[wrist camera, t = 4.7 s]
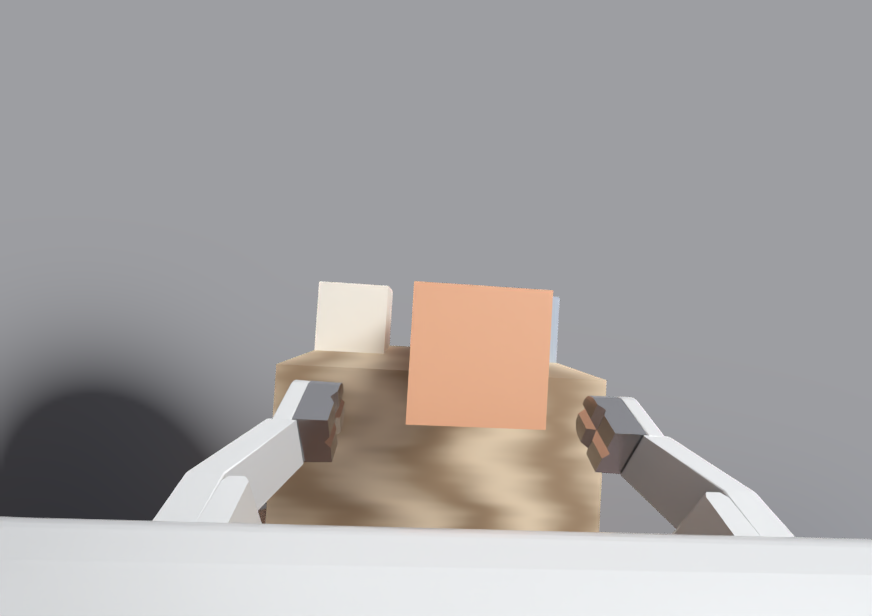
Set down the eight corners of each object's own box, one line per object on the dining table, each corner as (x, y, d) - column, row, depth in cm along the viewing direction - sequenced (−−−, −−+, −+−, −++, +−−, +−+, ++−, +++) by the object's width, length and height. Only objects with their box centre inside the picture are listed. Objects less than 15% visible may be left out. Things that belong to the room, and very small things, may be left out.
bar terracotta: (405, 424, 9) (414, 281, 9) (412, 346, 30) (414, 303, 30) (545, 430, 9) (552, 290, 9) (455, 349, 30) (457, 306, 30)
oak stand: (240, 875, 17) (276, 364, 17) (315, 634, 29) (334, 342, 30) (582, 859, 18) (606, 380, 18) (513, 633, 30) (528, 353, 31)
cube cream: (314, 350, 24) (319, 281, 24) (332, 343, 29) (335, 286, 29) (383, 353, 24) (388, 286, 24) (389, 346, 29) (392, 290, 29)
